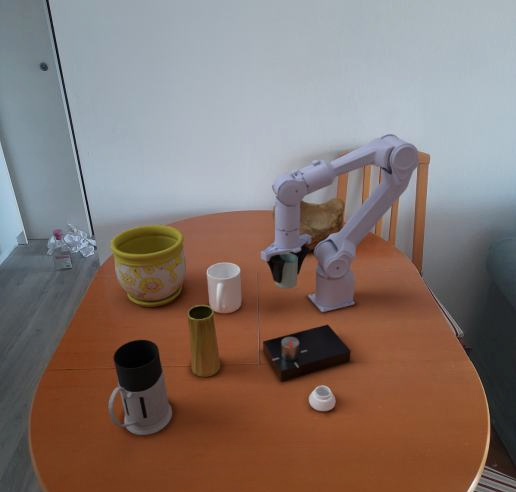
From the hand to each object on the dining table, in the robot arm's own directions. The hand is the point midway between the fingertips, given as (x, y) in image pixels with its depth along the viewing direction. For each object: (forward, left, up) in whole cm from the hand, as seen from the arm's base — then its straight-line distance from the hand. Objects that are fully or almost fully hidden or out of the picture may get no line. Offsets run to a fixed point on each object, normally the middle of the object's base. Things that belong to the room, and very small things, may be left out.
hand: (286, 277), depth 109 cm
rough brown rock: (-21, -29, -9) cm, 37 cm away
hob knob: (+8, +21, -6) cm, 23 cm away
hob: (+4, +19, -9) cm, 21 cm away
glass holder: (+40, +25, -9) cm, 48 cm away
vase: (+25, +14, -9) cm, 30 cm away
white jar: (+7, +32, -9) cm, 34 cm away
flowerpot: (+30, -19, -9) cm, 36 cm away
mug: (+15, -5, -9) cm, 18 cm away
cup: (0, 0, -2) cm, 2 cm away
